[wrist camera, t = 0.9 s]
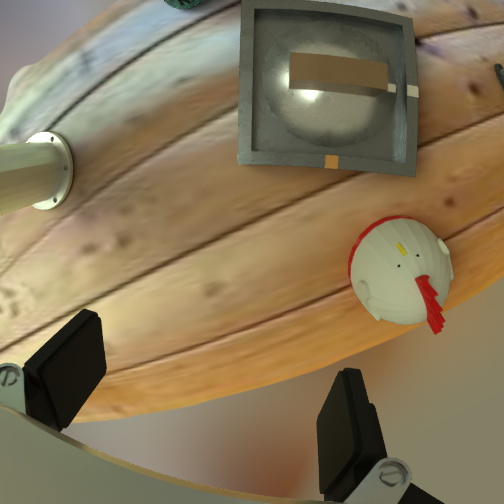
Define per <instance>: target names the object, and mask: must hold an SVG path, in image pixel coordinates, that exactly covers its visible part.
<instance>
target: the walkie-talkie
mask: <svg viewBox="0 0 504 504" xmlns="http://www.w3.org/2000/svg"><path fill="white" fill-rule="evenodd" d="M498 67H499V68H500V70H499V69H498ZM495 70H496V72H497V77H498V80H499V81H500V83H501V86H502V89H503V90H504V68H503V67H502V65H501V64H495Z"/></svg>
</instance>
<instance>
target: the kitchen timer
mask: <svg viewBox="0 0 504 504" xmlns="http://www.w3.org/2000/svg"><path fill="white" fill-rule="evenodd" d="M348 275H349V279H350V282H351V286H352V288H353V290H354V292H355V294H356V295H357V297H358V298H359V300H360V301H361V303H362V304H363V305H364V307H365V308H366V309H367V310H368V311H369V312H370V313H371V314H372V315H373V316H374V318H375V319H376V320H377V321H380V319H381V318H383V319H384V320H387V321H390V322H393V323H396V324H405V325H412V324H417V323H421V322H424V321H426V320H427V321H428V323H429V325H430V327H431V329H432V331H433V332H434V334H437V333H439V332H441V328H443V324H442V323H443V322H445V319H444V318H443V316H442V315H441V313H440V312H441V311H443V309H442V308H441V307H442V306H443V304H444V302H445V300H446V298H447V295H448V292H449V286H450V280H453V279H454V273H453V269H452V264H451V260H450V252H449V250H448V248H447V246H446V245H445V244H444V242H443V241H442V240H441V239H440V238H437V237H436V236H435V235H434V233H433V232H432V231H431V230H430V229H429V228H428V227H427V226H426V225H424V224H422V223H421V222H419V221H417V220H415V219H413V218H411V217H406V216H398V215H397V216H391V217H386V218H383V219H381V220H379V221H377V222H375V223H373V224H371V225H370V226H369V227H368V228H367V229H366V230H365V231H364V232H363V233H362V234H361V235H360V236H359V238H358V239H357V241H356V243H355V244H354V246H353V248H352V251H351V254H350V258H349V262H348Z"/></svg>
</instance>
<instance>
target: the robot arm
mask: <svg viewBox="0 0 504 504" xmlns="http://www.w3.org/2000/svg"><path fill="white" fill-rule="evenodd" d="M72 178H73V161H72V156H71V152H70V149H69V147H68V145H67V143H66V142H65V141H64V139H63V138H62V137H61V136H60V135H58V134H56V133H54V132H50V131H43V132H39V133H37V134H35V135H33V136H32V137H31V138H30V139H29V140H28V141H27V142H26V143H17V144H7V145H0V216H2V215H4V214H7V213H10V212H13V211H16V210H18V209H21V208H24V207H27V206H30V205H32V206H33V207H35V208H37V209H39V210H49V209H52V208H54V207H56V206H58V205H59V204H60V203H61V202H62V201H63V200H64V199H65V197H66V196H67V194H68V192H69V190H70V187H71V183H72ZM24 365H25V366H24V367H23V368H22V369H21V367H19V366H18V365H16V364H13V363H4V364H1V365H0V504H444V503H443V502H441V501H439V500H438V499H436V498H435V497H433V496H431V495H430V494H428V493H427V492H425V491H423V490H422V489H420V488H419V487H417V486H416V485H414V484H413V483H411V480H412V472H411V469H410V468H409V466H408V465H407V464H406V463H405V462H403V461H402V460H400V459H397V458H391V457H390V458H388V457H387V452H386V449H385V444H384V440H383V436H382V432H381V428H380V424H379V420H378V416H377V412H376V408H375V406H374V405H373V404H372V403H369V400H368V396H367V392H366V389H365V385H364V381H363V377H362V374H361V371H360V369H353V368H345V369H344V370H343V371H339V372H338V374H337V376H336V378H335V381H334V383H333V385H332V387H331V390H330V392H329V394H328V396H327V399H326V401H325V403H324V405H323V407H322V409H321V411H320V413H319V415H318V418H317V441H318V462H319V490H320V493H321V494H324V501H313V500H299V499H288V498H278V497H270V496H262V495H255V494H248V493H242V492H236V491H231V490H225V489H220V488H216V487H211V486H206V485H202V484H198V483H193V482H190V481H186V480H182V479H178V478H175V477H171V476H168V475H164V474H161V473H158V472H155V471H152V470H149V469H145V468H143V467H140V466H137V465H134V464H131V463H129V462H126V461H123V460H121V459H118V458H115V457H113V456H110V455H108V454H105V453H103V452H100V451H98V450H96V449H94V448H91V447H89V446H87V445H85V444H82V443H80V442H78V441H76V440H74V439H72V438H70V437H68V436H66V435H64V434H62V433H60V432H61V431H62V429H63V428H67V427H68V426H69V424H70V423H71V422H72V420H73V419H74V417H75V416H76V414H77V413H78V412H79V410H80V409H81V407H82V406H83V404H84V403H85V402H86V400H87V399H88V397H89V396H90V395H91V393H92V392H93V390H94V389H95V388H96V386H97V385H98V384H99V382H100V381H101V379H102V378H103V377H104V375H105V373H106V369H107V366H106V359H105V351H104V343H103V334H102V324H101V318H100V317H98V314H97V313H96V312H93V311H90V310H87V309H83V310H81V311H80V312H79V313H78V314H77V315H76V316H75V317H73V318H72V319H71V320H70V321H69V322H68V323H67V324H66V325H65V326H64V327H62V328H61V329H60V330H59V331H58V332H57V333H56V334H55V335H54V336H53V337H52V338H51V339H49V340H48V341H47V342H46V343H45V344H44V345H43V346H42V347H41V348H40V349H39V350H38V351H37V352H36V353H35V354H34V355H33V356H32V357H31V358H30V359H29V360H28V361H26V362H25V363H24ZM326 501H333V502H326Z"/></svg>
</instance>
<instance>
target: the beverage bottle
mask: <svg viewBox="0 0 504 504" xmlns="http://www.w3.org/2000/svg"><path fill="white" fill-rule="evenodd" d="M164 1H166V2H165V3H167V4H168V5H170V6H172V7H174V8H177V9H187V8H191V7H194V6H196V5H198V4H199V3H201V2H202V1H203V0H164Z"/></svg>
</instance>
